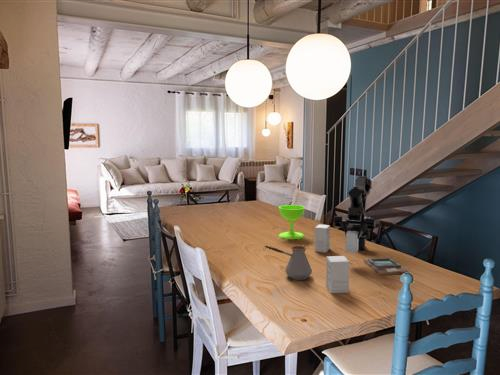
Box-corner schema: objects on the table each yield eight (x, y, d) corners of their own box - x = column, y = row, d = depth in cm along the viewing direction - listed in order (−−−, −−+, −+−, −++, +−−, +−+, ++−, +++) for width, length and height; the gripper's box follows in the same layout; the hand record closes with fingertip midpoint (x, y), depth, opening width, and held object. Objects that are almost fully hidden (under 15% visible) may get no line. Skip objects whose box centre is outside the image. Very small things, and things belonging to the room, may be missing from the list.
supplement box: (343, 285, 156) (344, 255, 154) (349, 293, 148) (349, 261, 147) (325, 286, 156) (326, 255, 154) (330, 293, 148) (330, 261, 147)
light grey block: (347, 249, 183) (347, 230, 182) (358, 250, 182) (358, 231, 180) (345, 252, 179) (346, 233, 178) (356, 253, 177) (357, 234, 176)
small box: (318, 247, 211) (318, 224, 210) (329, 248, 209) (330, 225, 207) (314, 251, 204) (314, 227, 202) (326, 252, 201) (326, 228, 200)
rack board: (363, 261, 186) (364, 257, 186) (389, 260, 187) (390, 256, 187) (379, 274, 168) (380, 270, 168) (408, 273, 169) (408, 268, 169)
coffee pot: (305, 271, 173) (306, 238, 172) (316, 280, 162) (316, 245, 161) (260, 275, 168) (259, 242, 166) (267, 285, 157) (267, 249, 155)
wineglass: (304, 233, 243) (304, 205, 241) (305, 239, 227) (305, 209, 225) (278, 232, 245) (278, 204, 242) (278, 239, 229) (278, 209, 227)
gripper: (334, 199, 185) (329, 226, 176) (375, 201, 178) (372, 230, 169) (337, 212, 193) (332, 239, 184) (376, 215, 186) (373, 243, 177)
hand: (352, 237), depth 178 cm, fingers closed on light grey block, 5 cm apart
